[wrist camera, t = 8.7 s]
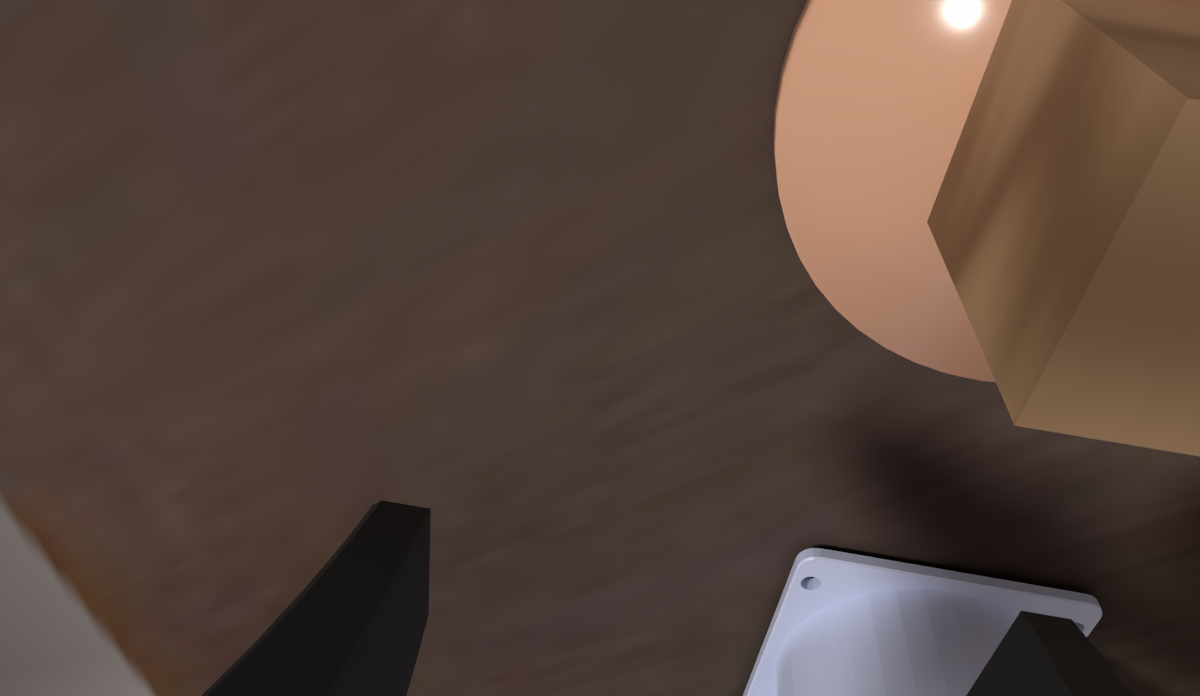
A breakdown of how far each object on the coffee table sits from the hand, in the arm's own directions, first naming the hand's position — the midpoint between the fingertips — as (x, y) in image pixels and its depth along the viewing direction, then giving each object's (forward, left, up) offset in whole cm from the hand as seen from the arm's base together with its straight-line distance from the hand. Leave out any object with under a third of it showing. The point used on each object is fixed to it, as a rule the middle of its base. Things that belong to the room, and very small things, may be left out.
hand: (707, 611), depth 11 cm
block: (+4, -6, -8) cm, 11 cm away
